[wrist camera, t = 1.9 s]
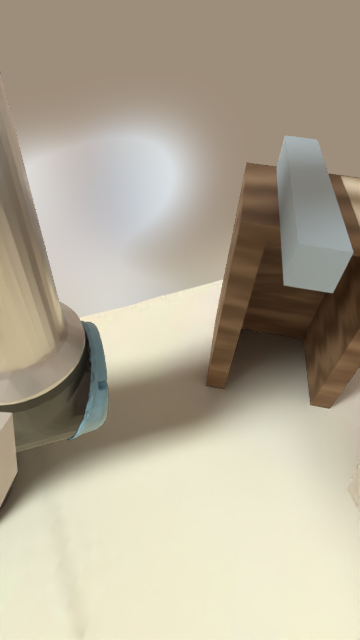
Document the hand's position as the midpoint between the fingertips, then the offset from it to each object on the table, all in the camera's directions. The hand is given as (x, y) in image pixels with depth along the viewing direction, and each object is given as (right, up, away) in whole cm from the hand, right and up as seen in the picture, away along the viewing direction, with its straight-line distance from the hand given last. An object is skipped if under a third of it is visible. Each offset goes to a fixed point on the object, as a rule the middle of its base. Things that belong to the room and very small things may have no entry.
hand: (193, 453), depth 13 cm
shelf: (+15, -2, +49) cm, 51 cm away
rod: (+12, +16, +24) cm, 32 cm away
